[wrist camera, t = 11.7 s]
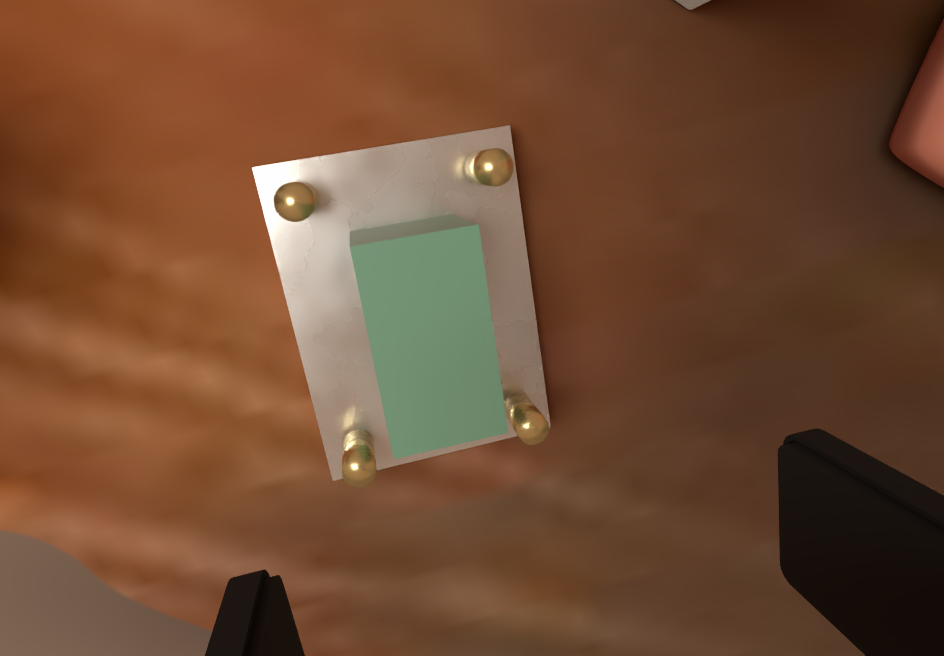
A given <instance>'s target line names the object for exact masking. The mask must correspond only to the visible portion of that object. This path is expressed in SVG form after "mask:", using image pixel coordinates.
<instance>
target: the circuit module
mask: <svg viewBox="0 0 944 656" xmlns="http://www.w3.org/2000/svg"><path fill="white" fill-rule="evenodd" d="M350 251H351V256H352V260H353V265H354V270H355V275H356V280H357V285H358V290H359V294H360V299H361V304H362V309H363V314H364V319H365V324H366V328H367V333H368V338H369V343H370V348H371V353H372V357H373V362H374V367H375V372H376V377H377V382H378V387H379V391H380V396H381V401H382V406H383V411H384V416H385V421H386V425H387V430H388V435H389V440H390V445H391V450H392V454H393V459H397V458H401V457H406V456H410V455H414V454H419V453H423V452H428V451H432V450H436V449H441V448H445V447H449V446H454V445H458V444H462V443H467V442H471V441H476V440H480V439H484V438H489V437H493V436H497V435H502V434H506V433H508V427H507V420H506V413H505V406H504V399H503V392H502V384H501V377H500V370H499V363H498V356H497V349H496V342H495V335H494V328H493V321H492V314H491V307H490V300H489V293H488V286H487V279H486V272H485V265H484V258H483V251H482V244H481V237H480V230H479V224H477V223H474V222H472V221H469V220H467V219H464V218H462V217H459V216H457V215H454V214H450V215H444V216H438V217H432V218H426V219H420V220H414V221H408V222H402V223H396V224H391V225H385V226H379V227H373V228H367V229H361V230H355V231H350Z"/></svg>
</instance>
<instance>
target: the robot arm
mask: <svg viewBox="0 0 944 656" xmlns="http://www.w3.org/2000/svg"><path fill="white" fill-rule="evenodd" d="M778 486H779V535H780V566H781V569H782V572H783V574H784V577H785V578H786V580H787V581H788V582H789V584H790V585H791V586H792V587H793V588H794V589H796V590H797V591H798V592H799V593H800V594H801V595H802V596H803V597H804V598H805V599H806V600H807V601H808V602H809V603H810V604H811V605H813V606H814V607H815V608H816V609H817V610H818V611H819V612H820V613H821V614H822V615H823V616H824V617H825V618H826V619H827V620H829V621H830V622H831V623H832V624H833V625H834V626H835V627H836V628H837V629H838V630H839V631H840V632H841V633H842V634H843V635H844V636H846V637H847V638H848V639H849V640H850V641H851V642H852V643H853V644H854V645H855V646H856V647H857V648H858V649H859V650H860V651H861V652H863V653H864V654H865V655H866V656H944V496H943V495H941V494H940V493H938V492H936V491H934V490H932V489H930V488H929V487H927V486H925V485H923V484H921V483H919V482H917V481H916V480H914V479H912V478H910V477H908V476H906V475H905V474H903V473H901V472H899V471H897V470H895V469H894V468H892V467H890V466H888V465H886V464H884V463H883V462H881V461H879V460H877V459H875V458H873V457H871V456H870V455H868V454H866V453H864V452H862V451H860V450H859V449H857V448H855V447H853V446H851V445H849V444H848V443H846V442H844V441H842V440H840V439H838V438H836V437H835V436H833V435H831V434H829V433H827V432H825V431H824V430H821V429H811V430H807V431H803V432H799V433H796V434H792V435H789V436H787V437H786V438H785V440H784V442H783V445H782V446H780V447H779V449H778ZM205 656H305V655H304V651H303V648H302V645H301V641H300V638H299V635H298V631H297V628H296V625H295V621H294V618H293V615H292V611H291V608H290V605H289V601H288V598H287V595H286V591H285V588H284V585H283V582H282V579H281V577H280V576H279V575H277V576H273V577H270V576H269V574H268V572H267V571H266V570H260V571H257V572H253V573H249V574H245V575H241V576H237V577H233V578H231V579H230V580H229V582H228V584H227V587H226V590H225V594H224V597H223V600H222V603H221V606H220V609H219V613H218V616H217V619H216V622H215V625H214V628H213V632H212V635H211V638H210V641H209V644H208V648H207V651H206V654H205Z"/></svg>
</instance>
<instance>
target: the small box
mask: <svg viewBox="0 0 944 656" xmlns="http://www.w3.org/2000/svg"><path fill="white" fill-rule="evenodd" d="M675 1H676V2H678V3H679V4H681V5H682V6H684V7H685V8H687V9H689V10H693V9H695V8H697V7H699V6H701V5H703V4H705V3H707V2H709V1H711V0H675Z"/></svg>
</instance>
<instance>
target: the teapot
mask: <svg viewBox="0 0 944 656" xmlns="http://www.w3.org/2000/svg"><path fill="white" fill-rule="evenodd" d="M889 148H890V150H891V151H892V153H893V154H894V155H895V156H896V157H897V158H898V159H899V160H901V161H902V162H903V163H905V164H906V165H908V166H909V167H910V168H912V169H913V170H915V171H916V172H918V173H920V174H921V175H923V176H924V177H926V178H928V179H929V180H931V181H932V182H934V183H936V184H937V185H939V186H941V187H942V188H944V18H943V20H942V22H941V24H940V26H939V28H938V30H937V33H936V35H935V37H934V39H933V41H932V43H931V45H930V47H929V49H928V52H927V54H926V56H925V58H924V60H923V63H922V65H921V67H920V69H919V71H918V74H917V76H916V78H915V80H914V83H913V85H912V87H911V89H910V91H909V94H908V96H907V98H906V100H905V103H904V105H903V107H902V109H901V112H900V114H899V117H898V119H897V121H896V124H895V126H894V129H893V131H892V134H891V137H890V140H889Z"/></svg>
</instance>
